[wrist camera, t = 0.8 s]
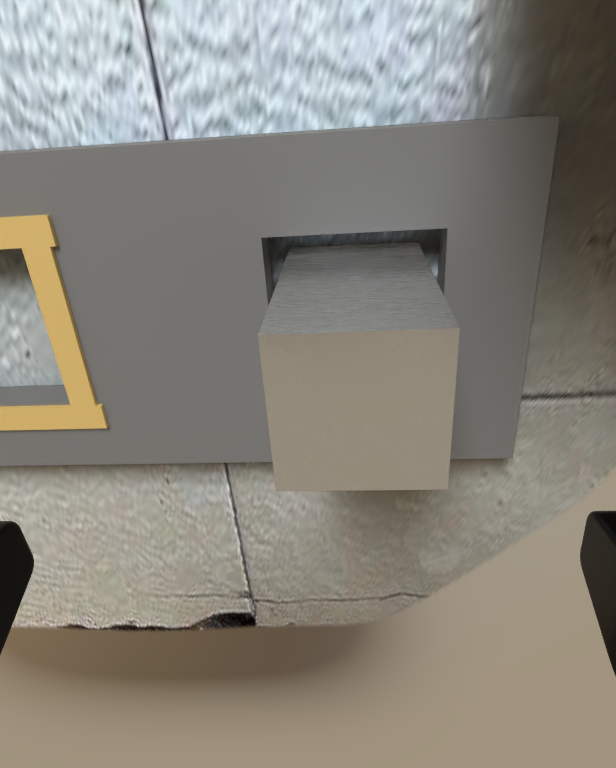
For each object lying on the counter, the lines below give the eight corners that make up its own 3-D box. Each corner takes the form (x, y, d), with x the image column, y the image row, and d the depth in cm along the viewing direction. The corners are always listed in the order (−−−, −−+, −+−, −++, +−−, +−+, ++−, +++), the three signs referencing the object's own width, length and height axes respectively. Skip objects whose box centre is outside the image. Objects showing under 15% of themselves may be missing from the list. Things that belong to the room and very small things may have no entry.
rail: (543, 115, 17) (562, 116, 15) (502, 436, 22) (513, 461, 21) (-219, 166, 19) (-268, 172, 18) (-83, 447, 25) (-110, 470, 23)
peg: (417, 241, 19) (459, 327, 12) (413, 357, 21) (448, 489, 14) (290, 247, 19) (257, 335, 12) (298, 361, 21) (276, 491, 14)
